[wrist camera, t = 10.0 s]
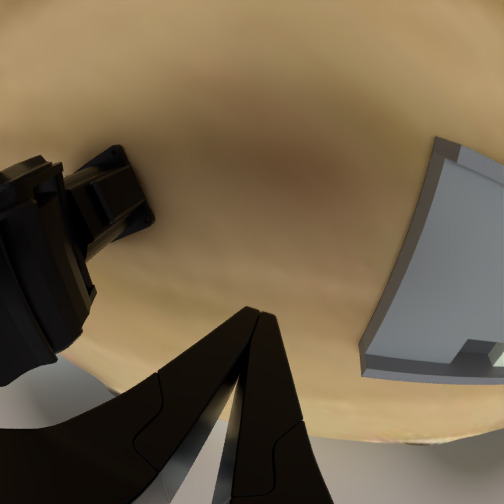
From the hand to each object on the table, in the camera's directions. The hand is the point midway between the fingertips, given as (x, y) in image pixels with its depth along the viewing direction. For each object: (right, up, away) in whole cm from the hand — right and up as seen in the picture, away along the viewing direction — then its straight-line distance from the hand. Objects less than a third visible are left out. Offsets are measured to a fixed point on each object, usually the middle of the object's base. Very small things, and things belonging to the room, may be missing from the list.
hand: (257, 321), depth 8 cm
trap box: (+21, -1, +9) cm, 23 cm away
